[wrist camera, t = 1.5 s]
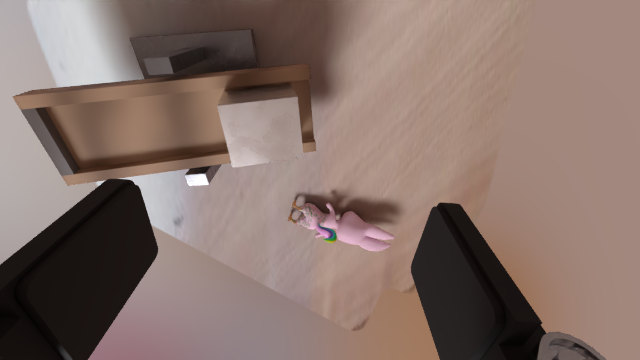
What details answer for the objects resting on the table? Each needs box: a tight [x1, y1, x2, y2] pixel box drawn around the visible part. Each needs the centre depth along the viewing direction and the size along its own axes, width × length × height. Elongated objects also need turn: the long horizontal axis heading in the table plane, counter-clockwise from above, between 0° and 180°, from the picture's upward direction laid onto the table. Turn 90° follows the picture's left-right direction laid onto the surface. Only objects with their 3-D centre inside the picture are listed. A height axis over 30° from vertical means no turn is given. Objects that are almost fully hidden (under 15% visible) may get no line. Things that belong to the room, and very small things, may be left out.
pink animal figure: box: [288, 199, 395, 251], centre depth 38 cm, size 6×6×15 cm
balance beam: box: [13, 64, 316, 185], centre depth 26 cm, size 23×8×2 cm, turn 94°
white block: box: [217, 84, 304, 168], centre depth 25 cm, size 6×5×5 cm
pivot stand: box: [130, 29, 259, 186], centre depth 28 cm, size 12×14×8 cm
